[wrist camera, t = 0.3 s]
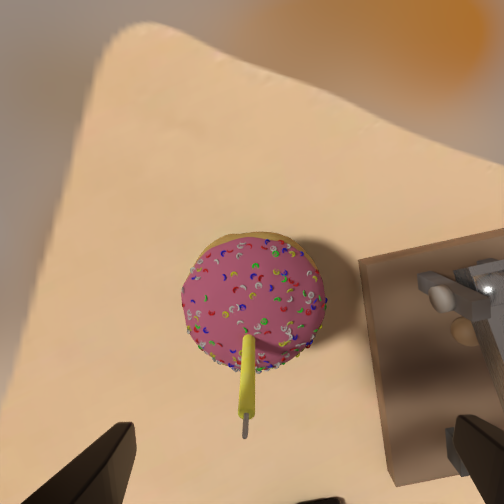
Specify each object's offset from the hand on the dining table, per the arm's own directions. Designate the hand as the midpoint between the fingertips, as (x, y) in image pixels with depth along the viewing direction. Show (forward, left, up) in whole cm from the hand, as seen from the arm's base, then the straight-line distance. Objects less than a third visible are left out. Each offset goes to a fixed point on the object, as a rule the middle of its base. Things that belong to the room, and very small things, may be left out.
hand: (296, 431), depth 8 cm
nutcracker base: (-10, -13, -14) cm, 22 cm away
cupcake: (0, +1, -14) cm, 14 cm away
